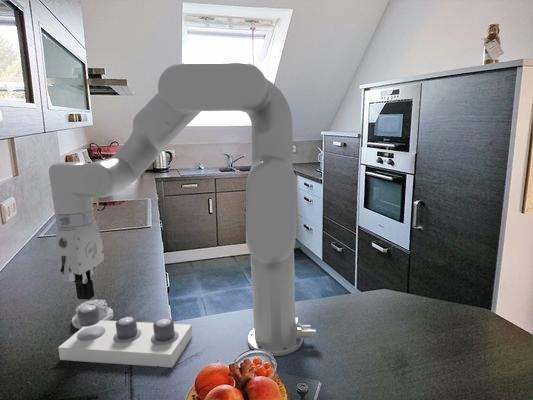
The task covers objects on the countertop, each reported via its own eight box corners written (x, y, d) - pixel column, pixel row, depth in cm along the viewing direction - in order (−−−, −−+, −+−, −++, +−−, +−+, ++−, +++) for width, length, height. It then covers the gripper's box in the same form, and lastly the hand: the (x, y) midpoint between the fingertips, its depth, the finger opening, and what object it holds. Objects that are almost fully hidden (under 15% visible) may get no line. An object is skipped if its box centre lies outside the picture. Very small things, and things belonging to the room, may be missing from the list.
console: (192, 336, 91) (191, 323, 91) (172, 367, 80) (170, 353, 79) (93, 330, 95) (91, 319, 95) (60, 359, 84) (58, 346, 83)
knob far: (104, 317, 90) (102, 304, 89) (92, 327, 85) (90, 313, 85) (87, 316, 90) (85, 303, 90) (75, 326, 86) (73, 312, 85)
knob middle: (141, 329, 89) (139, 316, 88) (131, 339, 84) (129, 326, 84) (123, 328, 89) (121, 315, 89) (113, 338, 85) (111, 325, 84)
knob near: (177, 331, 87) (176, 317, 86) (170, 341, 83) (168, 327, 82) (159, 330, 88) (158, 317, 87) (151, 340, 84) (149, 326, 83)
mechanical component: (121, 317, 102) (101, 307, 108) (119, 302, 101) (99, 293, 107) (84, 334, 95) (65, 322, 101) (82, 317, 94) (63, 307, 100)
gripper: (68, 228, 75) (80, 314, 79) (110, 211, 90) (118, 284, 93) (34, 228, 77) (47, 312, 80) (81, 211, 91) (90, 283, 95)
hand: (86, 297), depth 87 cm, fingers closed
